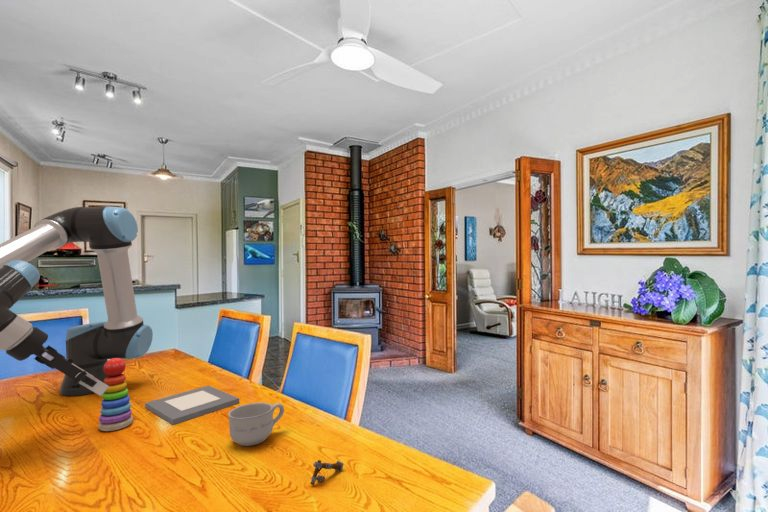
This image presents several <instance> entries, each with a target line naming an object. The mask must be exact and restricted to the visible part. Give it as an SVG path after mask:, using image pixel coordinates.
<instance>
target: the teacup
mask: <svg viewBox="0 0 768 512" xmlns="http://www.w3.org/2000/svg"><path fill="white" fill-rule="evenodd" d="M277 408H279V412H278V413H277V415H276V416H275V417H274V413H275V412H274V411H275V410H276V409H277ZM284 413H285V408H284V405H283V404H282V403H280V402H276V403H274V404H271V403H269V402H268V403H267V402H252V403H247V404H242V405H240V406H237V407H235V408H232V409H231V410H229V412H228V414H227V416H228V423H229V425H228V426H229V436H230V439H231V440H232V442H235V443H237V444H238V445H239V446H243V447H249V446H250V447H252V446H255V445H258V444H261V443H263V442H265V440H266V439H267V438H268V437H269V436H270V435H271V433H272V432H273V428H274V426H275V424H277V422H279V421H280V420H281V418H282V417H283V416H284Z"/></svg>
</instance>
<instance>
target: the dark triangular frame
mask: <svg viewBox="0 0 768 512" xmlns="http://www.w3.org/2000/svg"><path fill="white" fill-rule="evenodd" d="M313 467H314V471H313V474H312V476H311V479H310V480H311V481H310V485H312V486H314V485H315V483H316V481H317V482H319V483H321V482H324V481H325V480H326V477H325V475H319V473H320V471H322V469H325V470H335V471H337V472H339V473H341V472H342V471H343V467H344V462H341V461H340V460H337V461H336V462H335V463H334V462H333V463H330V462H322V460H320V459H318V460H317V461H314V462H313Z"/></svg>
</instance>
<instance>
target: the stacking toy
mask: <svg viewBox="0 0 768 512" xmlns="http://www.w3.org/2000/svg"><path fill="white" fill-rule="evenodd" d="M126 367H127V365H126V362H125V359H120V358H113V359H107V362H106V363H105V365H104V372H105V374H106V375H108V376H107V377H106V378H105V379H104V383H105V384H106V385H108V386H109V387H108V389H107V390H106V391H105V392H104V393H103V394H102V395H101V397H102V401H101V402H100V406H101V408H100V415H99V417H98V421H99V423H98V430H100V431H103V432H112V431H118V430H122V429H123V428H126V427H128V426H129V425H131V424H132V423H133V422H134V416H133V415H132V413H133V412H132V411H133V410H132V409H131V407H132V404H131V402H130V400H131V398H130V397H131V396H130V395H129V394H128V393H129V389H128V388H127V385H128V384H127V381H126V380H127V379H126V378H127V376H126V374H123V373H124V372H125V370H126Z"/></svg>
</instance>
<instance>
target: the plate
mask: <svg viewBox="0 0 768 512" xmlns="http://www.w3.org/2000/svg"><path fill="white" fill-rule="evenodd" d="M144 403H145V404H144V408H145V409H147V410H148V411H150V412H151V413H153V414H155V415H156V416H158V417H160V418H161V419H162V420H164V421H166V422H168V423H169V424H171V425H173V426H174V425H177V424H180V423H182V422H183V423H184V422H186V421H188V420H192V419H195V418H198V417H201V416H204V415H208V414H210V413H214V412H216V411H219V410H222V409H226V408H229V407H231V406H235V405H237V404H240V398H239V397H237V396H234V395H232V394H230V393H227V392H225V391H223V390H220V389H218V388H215V387H214V386H211V385H206V386H202V387H198V388H195V389H190V390H187V391H184V392H180V393H177V394H173V395H169V396H166V397H162V398H158V399H154V400H150V401H147V402H144Z"/></svg>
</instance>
